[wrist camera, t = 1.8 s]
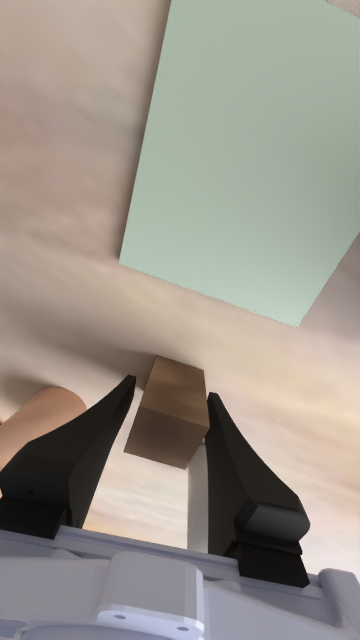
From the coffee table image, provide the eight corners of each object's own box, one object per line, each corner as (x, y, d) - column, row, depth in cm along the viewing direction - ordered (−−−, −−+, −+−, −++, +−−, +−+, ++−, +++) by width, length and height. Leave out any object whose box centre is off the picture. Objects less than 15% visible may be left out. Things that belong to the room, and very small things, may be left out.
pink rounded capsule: (90, 396, 16) (47, 456, 11) (83, 431, 17) (43, 496, 13) (37, 379, 15) (-32, 433, 11) (35, 417, 17) (-25, 478, 12)
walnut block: (203, 369, 14) (209, 427, 9) (186, 404, 15) (185, 469, 11) (157, 354, 14) (139, 405, 9) (144, 391, 15) (123, 451, 10)
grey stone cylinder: (245, 451, 17) (273, 549, 11) (224, 479, 19) (239, 575, 13) (198, 437, 17) (202, 530, 11) (181, 466, 18) (177, 559, 13)
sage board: (432, 93, 8) (465, 70, 7) (288, 322, 12) (296, 327, 11) (186, -25, 7) (184, -69, 6) (124, 263, 11) (118, 263, 10)
